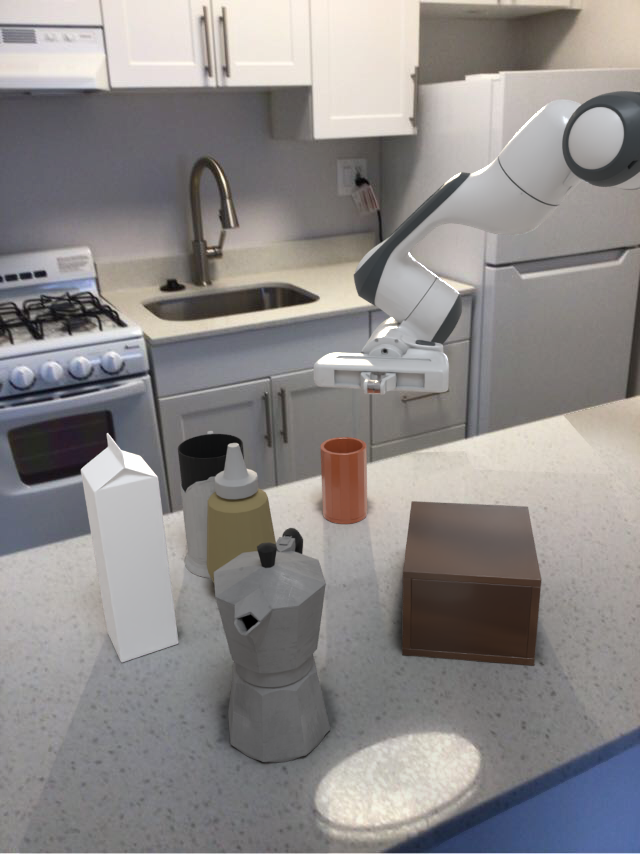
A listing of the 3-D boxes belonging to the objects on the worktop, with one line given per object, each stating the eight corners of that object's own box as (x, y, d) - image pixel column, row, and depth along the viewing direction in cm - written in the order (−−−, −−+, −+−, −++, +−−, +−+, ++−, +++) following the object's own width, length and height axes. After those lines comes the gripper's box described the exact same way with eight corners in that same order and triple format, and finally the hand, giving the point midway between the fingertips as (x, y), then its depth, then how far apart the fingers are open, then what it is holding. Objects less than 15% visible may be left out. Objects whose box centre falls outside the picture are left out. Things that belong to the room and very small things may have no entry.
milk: (121, 664, 75) (87, 460, 67) (106, 631, 80) (73, 438, 72) (180, 643, 77) (154, 445, 69) (162, 613, 82) (136, 425, 74)
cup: (365, 502, 105) (364, 436, 102) (368, 523, 100) (367, 453, 96) (322, 504, 105) (320, 437, 102) (323, 524, 100) (320, 455, 96)
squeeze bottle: (264, 617, 81) (253, 464, 74) (196, 605, 84) (180, 456, 77) (291, 577, 88) (283, 434, 82) (228, 567, 91) (215, 427, 84)
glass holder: (184, 581, 88) (170, 464, 83) (185, 524, 101) (174, 419, 96) (259, 573, 89) (250, 456, 84) (251, 517, 102) (243, 413, 97)
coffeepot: (313, 793, 59) (304, 598, 53) (200, 774, 61) (178, 584, 55) (350, 666, 73) (346, 499, 67) (257, 654, 75) (244, 491, 69)
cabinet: (410, 574, 88) (411, 500, 84) (522, 581, 86) (528, 506, 82) (402, 655, 74) (402, 571, 71) (534, 665, 72) (541, 579, 69)
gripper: (323, 339, 120) (301, 365, 108) (453, 343, 116) (446, 371, 103) (324, 377, 123) (303, 406, 110) (451, 382, 118) (444, 414, 106)
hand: (373, 389), depth 107 cm, fingers closed
